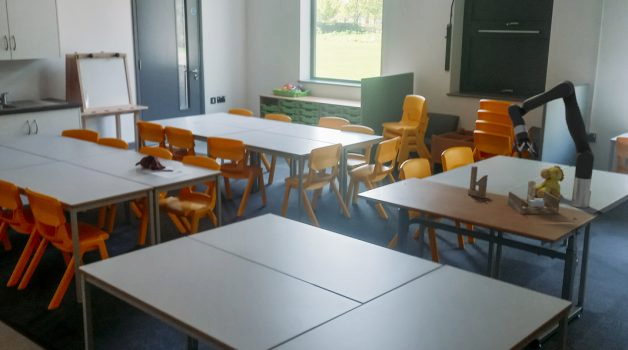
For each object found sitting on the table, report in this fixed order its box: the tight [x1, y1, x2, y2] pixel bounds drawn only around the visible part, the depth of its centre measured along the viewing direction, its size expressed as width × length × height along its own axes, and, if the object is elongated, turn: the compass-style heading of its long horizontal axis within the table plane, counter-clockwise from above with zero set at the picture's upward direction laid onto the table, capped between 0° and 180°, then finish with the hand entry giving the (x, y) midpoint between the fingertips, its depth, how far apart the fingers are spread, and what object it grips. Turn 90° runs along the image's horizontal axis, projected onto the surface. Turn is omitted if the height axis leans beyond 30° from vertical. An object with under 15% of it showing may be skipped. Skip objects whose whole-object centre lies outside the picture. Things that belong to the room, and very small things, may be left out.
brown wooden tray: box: [507, 190, 561, 215], centre depth 374 cm, size 22×18×9 cm
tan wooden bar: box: [525, 180, 537, 202], centre depth 377 cm, size 2×4×15 cm, turn 6°
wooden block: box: [467, 165, 488, 199], centre depth 403 cm, size 4×11×18 cm, turn 41°
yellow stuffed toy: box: [534, 164, 568, 199], centre depth 409 cm, size 20×24×19 cm
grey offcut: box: [528, 199, 545, 207], centre depth 370 cm, size 8×3×3 cm, turn 96°
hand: (527, 158), depth 386 cm, fingers open, 8 cm apart
